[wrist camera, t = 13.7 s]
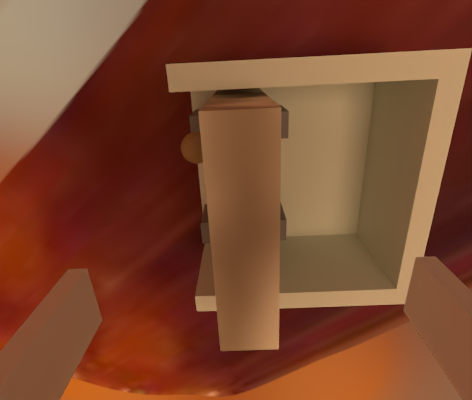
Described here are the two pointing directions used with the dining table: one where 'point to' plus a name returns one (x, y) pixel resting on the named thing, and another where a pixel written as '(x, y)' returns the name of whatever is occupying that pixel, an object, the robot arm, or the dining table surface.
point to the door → (242, 212)
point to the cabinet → (344, 166)
